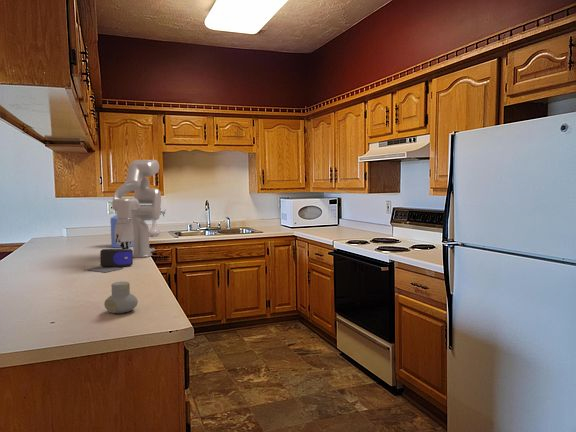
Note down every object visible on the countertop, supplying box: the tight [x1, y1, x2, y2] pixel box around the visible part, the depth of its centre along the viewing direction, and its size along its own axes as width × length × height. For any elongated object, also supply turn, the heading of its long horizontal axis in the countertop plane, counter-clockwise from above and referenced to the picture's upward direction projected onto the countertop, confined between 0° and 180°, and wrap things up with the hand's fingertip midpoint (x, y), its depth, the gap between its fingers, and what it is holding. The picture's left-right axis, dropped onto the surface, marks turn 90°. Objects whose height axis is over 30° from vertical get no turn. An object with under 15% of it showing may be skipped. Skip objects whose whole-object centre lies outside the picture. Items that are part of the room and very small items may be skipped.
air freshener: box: [104, 281, 139, 314], centre depth 153 cm, size 11×8×10 cm
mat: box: [83, 265, 124, 274], centre depth 229 cm, size 11×16×1 cm
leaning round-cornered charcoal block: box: [99, 248, 134, 268], centre depth 235 cm, size 16×5×9 cm, turn 108°
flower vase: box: [149, 207, 166, 238], centre depth 375 cm, size 13×18×25 cm
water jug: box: [110, 214, 133, 249], centre depth 313 cm, size 16×16×28 cm
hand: (125, 254), depth 241 cm, fingers closed
